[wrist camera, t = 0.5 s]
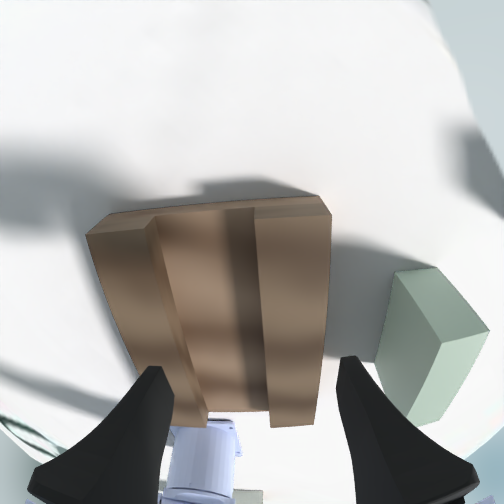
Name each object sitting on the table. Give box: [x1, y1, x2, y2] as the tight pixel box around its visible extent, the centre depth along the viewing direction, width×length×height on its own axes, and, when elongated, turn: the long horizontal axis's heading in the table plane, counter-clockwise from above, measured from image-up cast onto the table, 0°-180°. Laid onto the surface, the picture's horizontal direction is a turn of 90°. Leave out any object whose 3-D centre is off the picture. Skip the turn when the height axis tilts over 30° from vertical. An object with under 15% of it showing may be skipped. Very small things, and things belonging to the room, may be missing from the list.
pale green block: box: [374, 267, 490, 427], centre depth 19 cm, size 10×4×8 cm, turn 5°
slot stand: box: [85, 196, 332, 428], centre depth 22 cm, size 20×14×4 cm
